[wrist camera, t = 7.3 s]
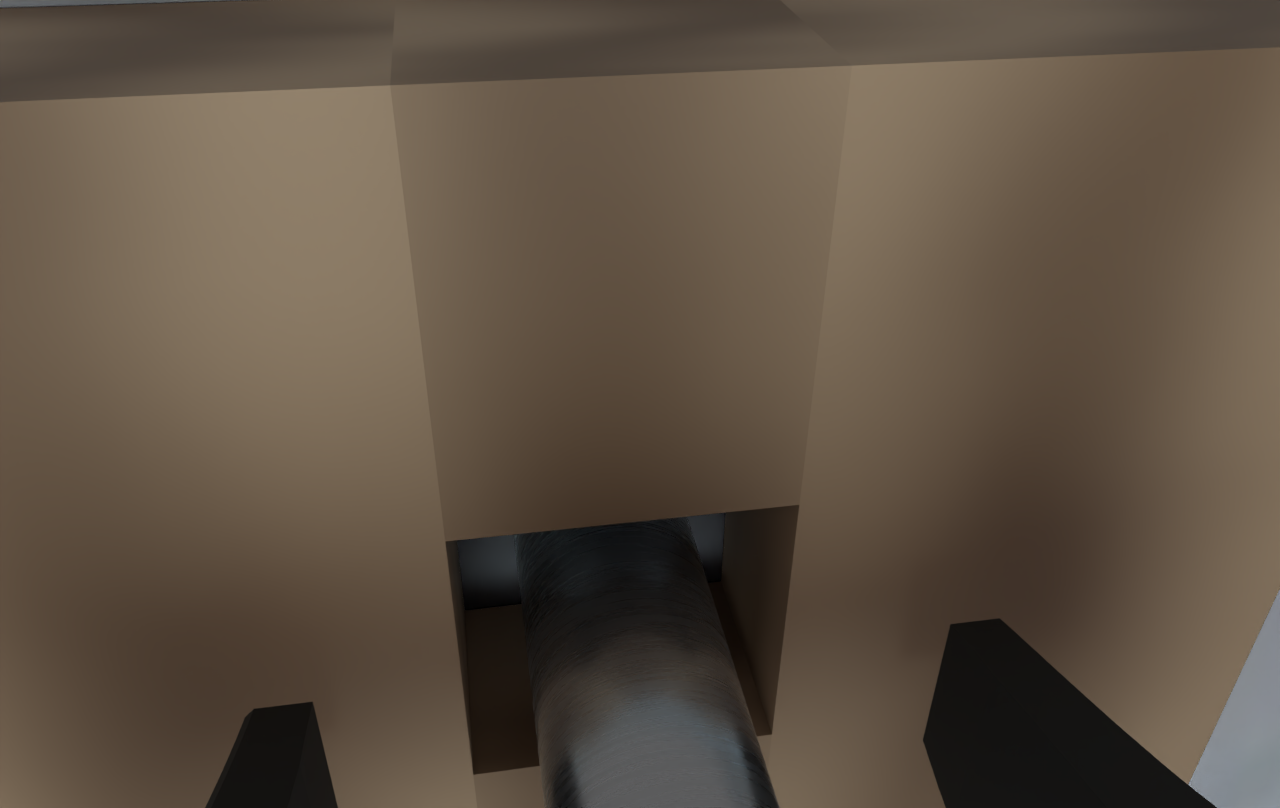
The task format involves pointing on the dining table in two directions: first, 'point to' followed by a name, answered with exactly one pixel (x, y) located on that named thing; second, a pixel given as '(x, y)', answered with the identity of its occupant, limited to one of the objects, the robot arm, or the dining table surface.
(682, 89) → the hole block
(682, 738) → the long pin
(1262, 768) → the dining table surface
